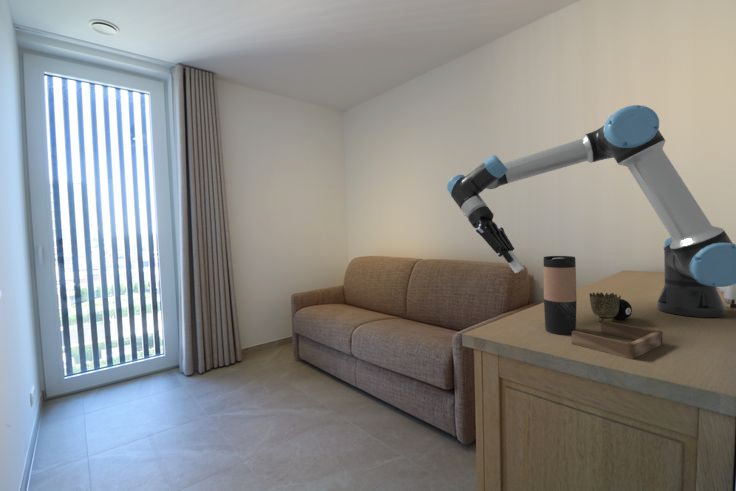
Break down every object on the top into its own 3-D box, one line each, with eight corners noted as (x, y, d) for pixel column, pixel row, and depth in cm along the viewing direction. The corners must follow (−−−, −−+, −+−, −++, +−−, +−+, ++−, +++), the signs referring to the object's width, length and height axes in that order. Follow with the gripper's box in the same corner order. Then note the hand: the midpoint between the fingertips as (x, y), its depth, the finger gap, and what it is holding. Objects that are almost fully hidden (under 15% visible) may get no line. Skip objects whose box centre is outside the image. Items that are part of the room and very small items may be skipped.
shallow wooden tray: (602, 331, 90) (602, 320, 90) (662, 344, 80) (662, 331, 79) (571, 343, 83) (571, 331, 82) (632, 359, 72) (632, 345, 72)
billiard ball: (620, 322, 98) (620, 301, 97) (601, 317, 103) (601, 297, 103) (637, 320, 99) (637, 300, 99) (617, 315, 105) (617, 296, 104)
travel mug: (575, 328, 94) (573, 255, 93) (578, 336, 87) (577, 258, 86) (543, 326, 97) (542, 255, 97) (545, 333, 91) (543, 258, 90)
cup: (626, 325, 94) (626, 296, 94) (596, 325, 96) (596, 297, 96) (612, 318, 102) (612, 291, 101) (585, 318, 103) (585, 292, 103)
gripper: (481, 221, 121) (521, 277, 109) (458, 219, 113) (498, 278, 101) (496, 207, 116) (540, 262, 104) (473, 202, 108) (518, 263, 96)
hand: (519, 270), depth 102 cm, fingers closed
